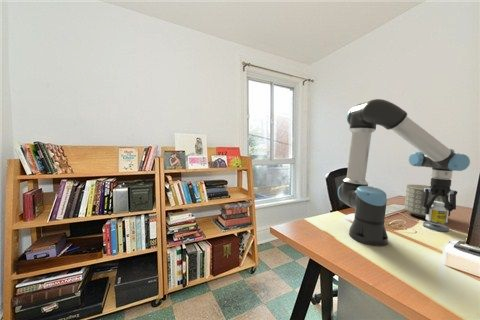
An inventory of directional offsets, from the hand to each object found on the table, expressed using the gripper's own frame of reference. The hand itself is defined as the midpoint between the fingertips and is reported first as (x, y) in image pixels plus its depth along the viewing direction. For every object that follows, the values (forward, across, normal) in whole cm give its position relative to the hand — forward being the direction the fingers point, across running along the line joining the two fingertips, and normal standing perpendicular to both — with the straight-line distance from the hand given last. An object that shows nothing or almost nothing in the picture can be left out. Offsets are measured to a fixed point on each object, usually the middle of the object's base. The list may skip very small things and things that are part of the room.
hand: (436, 220), depth 105 cm
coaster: (+4, 0, 0) cm, 4 cm away
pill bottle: (+2, 0, 0) cm, 2 cm away
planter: (+4, +5, +19) cm, 20 cm away
